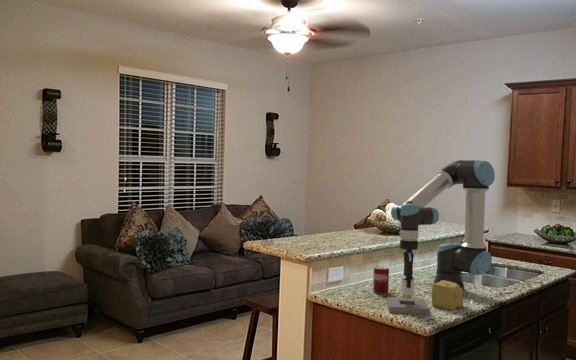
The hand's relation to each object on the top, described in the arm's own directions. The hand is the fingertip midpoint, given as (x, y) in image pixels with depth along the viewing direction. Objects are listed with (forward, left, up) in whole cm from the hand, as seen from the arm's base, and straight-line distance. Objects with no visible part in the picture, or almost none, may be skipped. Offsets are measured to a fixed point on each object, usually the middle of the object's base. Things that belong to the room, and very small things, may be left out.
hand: (407, 293), depth 220 cm
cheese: (-18, -8, -7) cm, 21 cm away
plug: (0, 0, -2) cm, 2 cm away
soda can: (+10, -26, -7) cm, 29 cm away
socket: (0, 0, -7) cm, 7 cm away
